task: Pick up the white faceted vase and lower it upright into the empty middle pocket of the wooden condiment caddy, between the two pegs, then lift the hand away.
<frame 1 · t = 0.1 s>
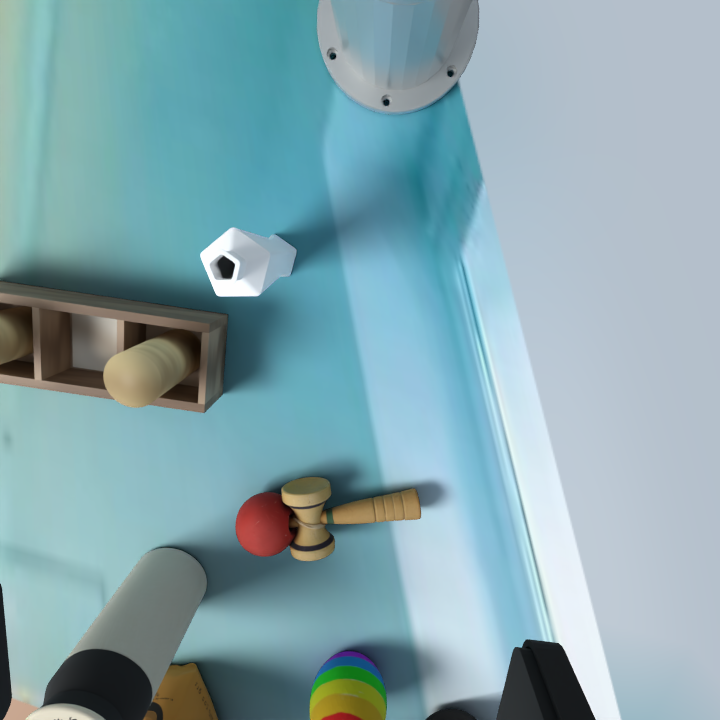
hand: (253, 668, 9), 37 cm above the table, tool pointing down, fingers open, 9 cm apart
travel mug: (173, 575, 52), on the table
decorative egg: (350, 668, 54), on the table
coffee package: (184, 697, 56), on the table
wooden condiment caddy: (110, 338, 45), on the table
white faceted vase: (275, 255, 43), on the table
kendama: (331, 499, 49), on the table
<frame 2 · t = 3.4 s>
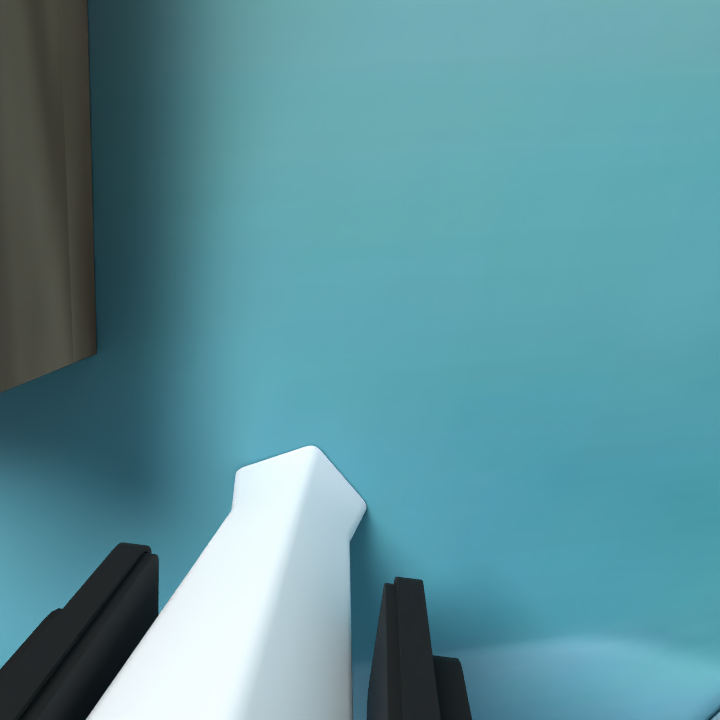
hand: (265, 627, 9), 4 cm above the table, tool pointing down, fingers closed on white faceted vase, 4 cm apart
white faceted vase: (304, 503, 14), on the table, touching gripper
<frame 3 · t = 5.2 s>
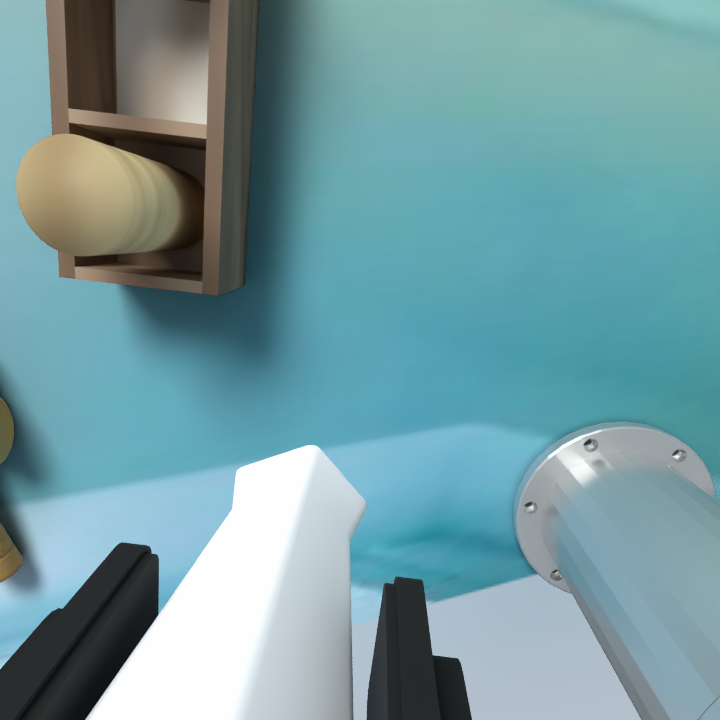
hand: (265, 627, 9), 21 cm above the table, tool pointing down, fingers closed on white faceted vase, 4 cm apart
wooden condiment caddy: (181, 72, 26), on the table
white faceted vase: (304, 502, 14), point 16 cm above the table, touching gripper
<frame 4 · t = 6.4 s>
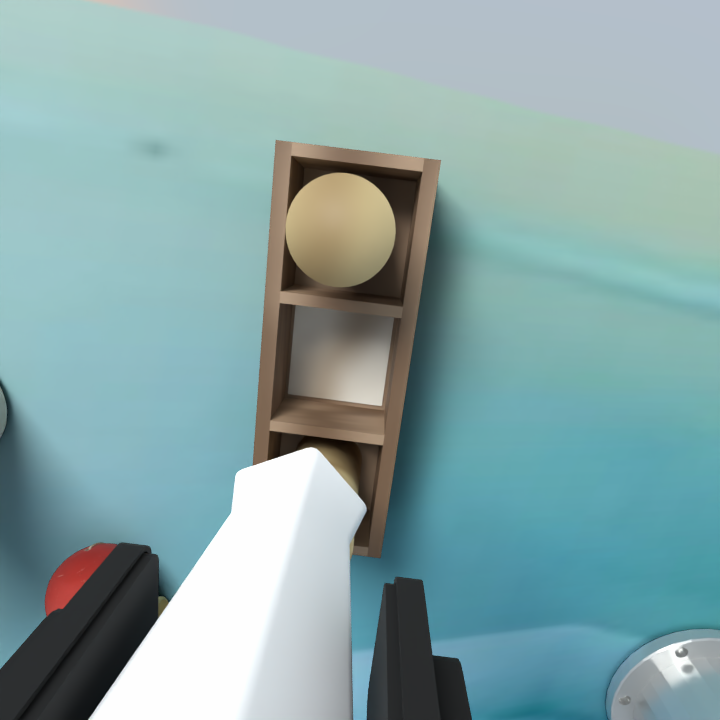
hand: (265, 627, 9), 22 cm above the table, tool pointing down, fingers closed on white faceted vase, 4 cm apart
wooden condiment caddy: (341, 350, 30), on the table
white faceted vase: (304, 505, 14), point 17 cm above the table, touching gripper
kendama: (139, 627, 37), on the table
when the fingers open (7 cm above the table, at t = 9.7 s): white faceted vase drops 1 cm, resting on wooden condiment caddy.
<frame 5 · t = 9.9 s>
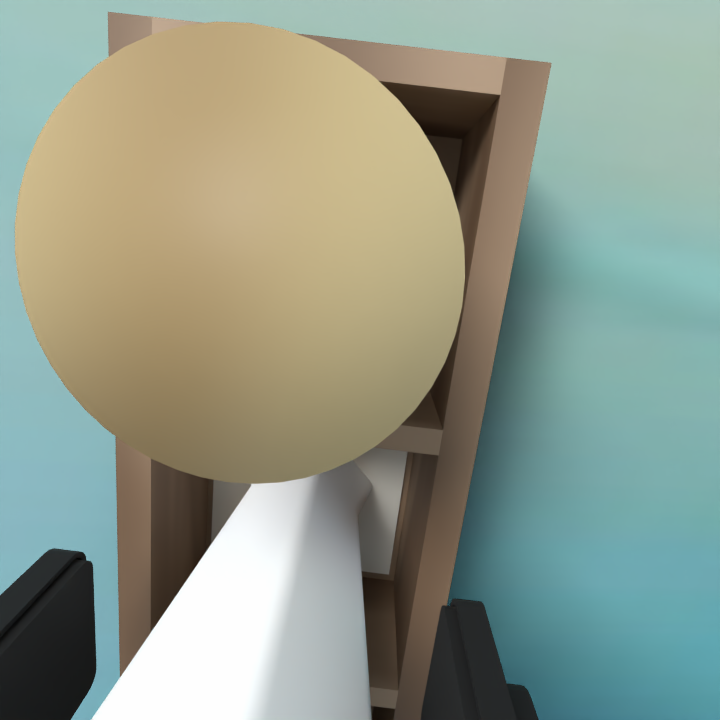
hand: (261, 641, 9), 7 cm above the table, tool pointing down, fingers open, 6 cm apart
wooden condiment caddy: (312, 466, 16), on the table
white faceted vase: (314, 483, 15), point 1 cm above the table, touching wooden condiment caddy
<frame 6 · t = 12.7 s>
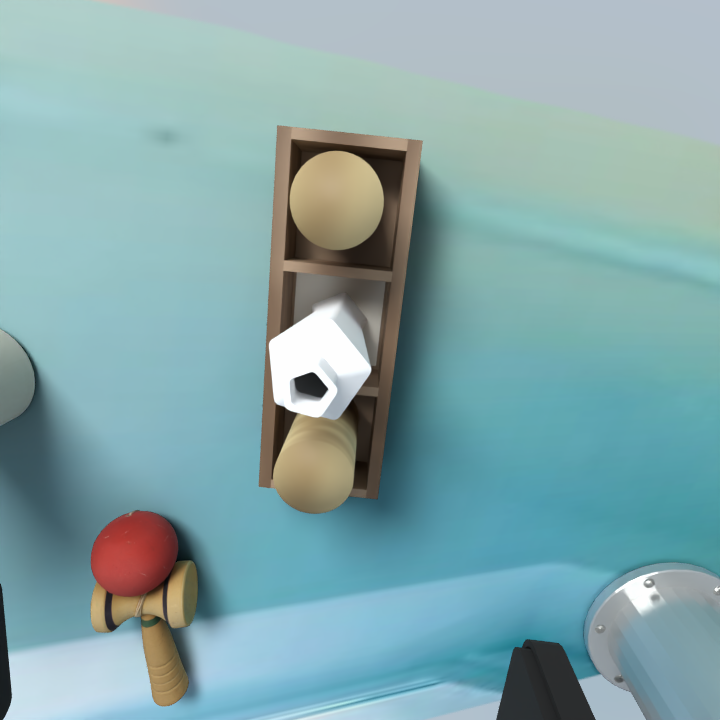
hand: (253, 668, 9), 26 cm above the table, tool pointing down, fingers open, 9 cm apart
wooden condiment caddy: (338, 317, 34), on the table
white faceted vase: (340, 320, 33), point 1 cm above the table, touching wooden condiment caddy
kendama: (166, 589, 41), on the table
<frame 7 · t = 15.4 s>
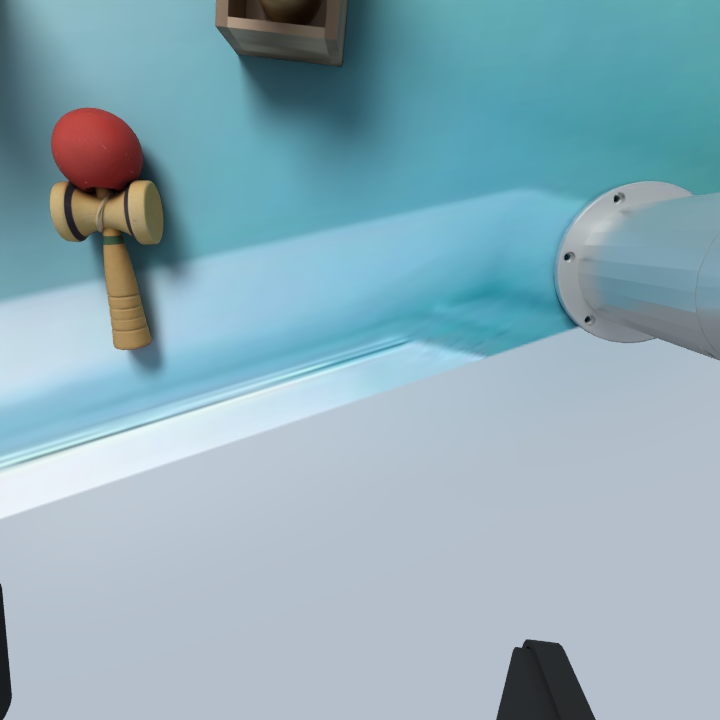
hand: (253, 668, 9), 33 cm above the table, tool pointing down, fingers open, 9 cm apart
kendama: (132, 237, 40), on the table
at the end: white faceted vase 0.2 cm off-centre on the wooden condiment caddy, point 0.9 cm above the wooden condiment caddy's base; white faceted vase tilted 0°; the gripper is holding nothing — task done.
